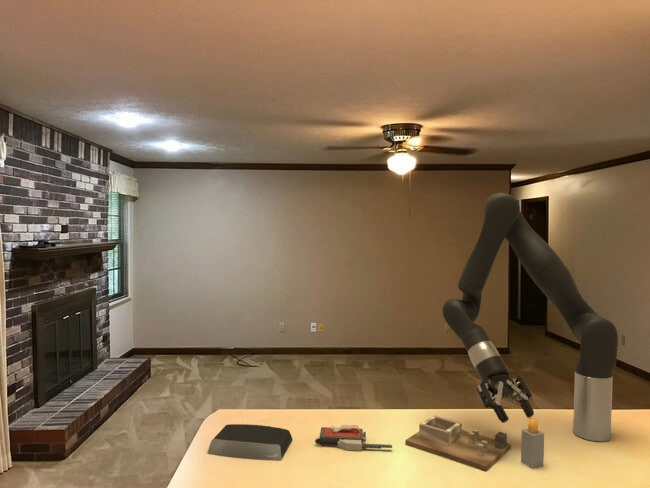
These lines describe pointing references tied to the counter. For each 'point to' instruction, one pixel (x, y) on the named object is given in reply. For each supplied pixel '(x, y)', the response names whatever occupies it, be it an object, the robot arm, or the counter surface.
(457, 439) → the board
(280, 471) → the counter surface
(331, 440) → the walkie-talkie
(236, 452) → the external hard drive
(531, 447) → the connector plug
